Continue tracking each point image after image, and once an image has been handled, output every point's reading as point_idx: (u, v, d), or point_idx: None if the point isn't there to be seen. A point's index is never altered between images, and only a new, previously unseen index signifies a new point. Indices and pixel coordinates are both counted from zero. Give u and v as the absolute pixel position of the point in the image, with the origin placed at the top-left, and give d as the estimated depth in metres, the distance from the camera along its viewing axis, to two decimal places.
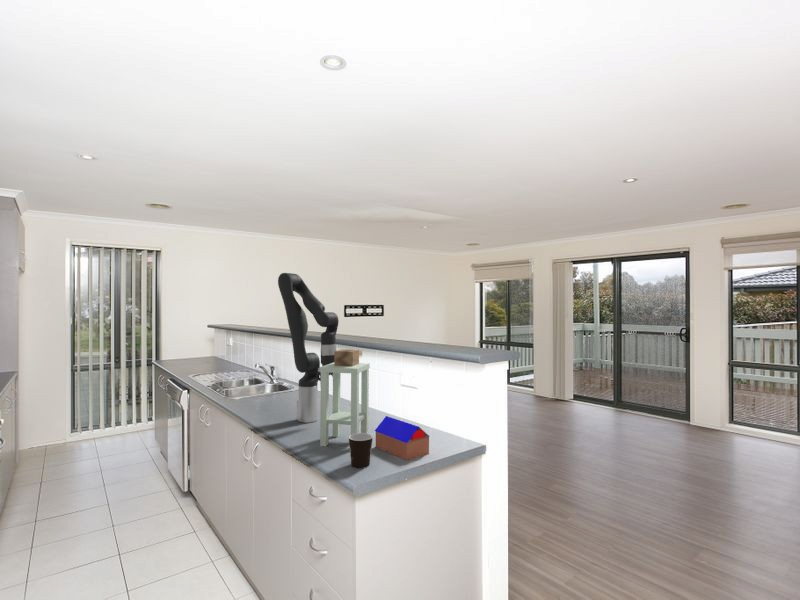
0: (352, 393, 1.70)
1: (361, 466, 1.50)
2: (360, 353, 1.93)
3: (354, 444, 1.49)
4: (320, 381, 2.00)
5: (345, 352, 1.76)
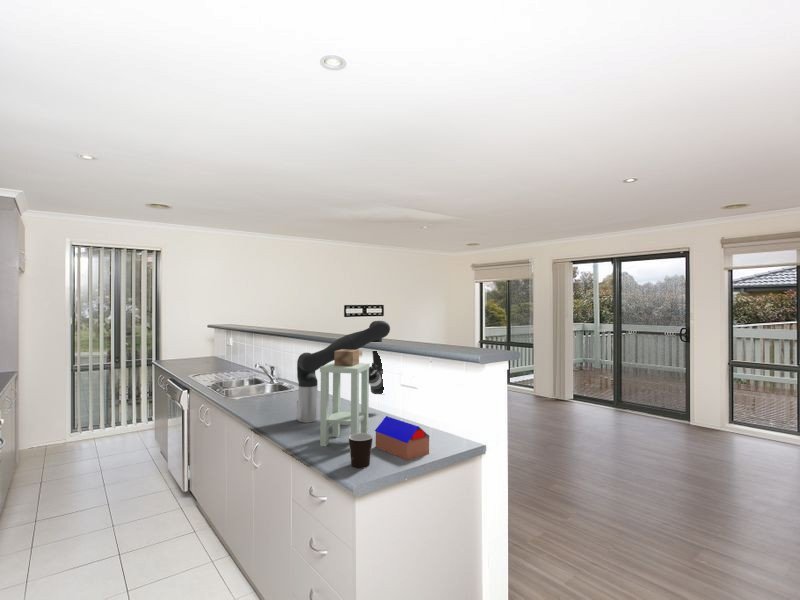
0: (352, 393, 1.70)
1: (361, 466, 1.50)
2: (360, 353, 1.93)
3: (354, 444, 1.49)
4: (376, 366, 2.05)
5: (345, 352, 1.76)
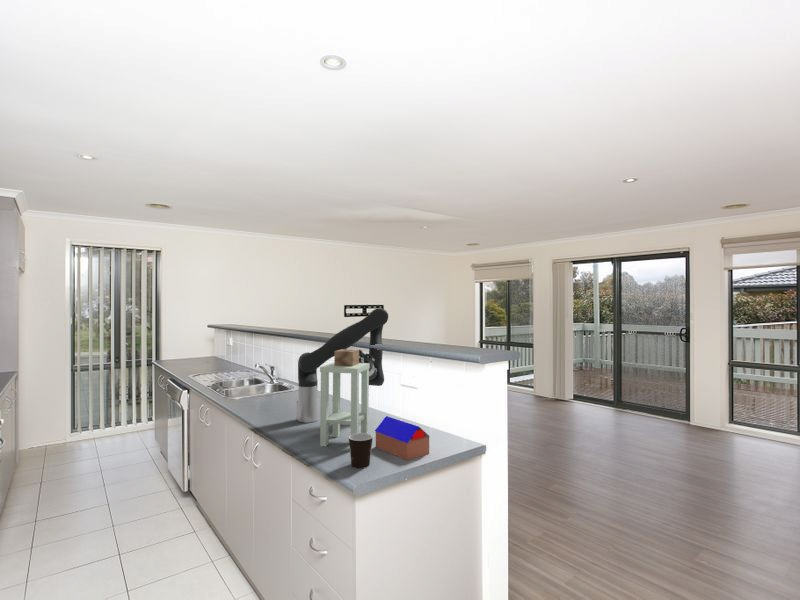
0: (352, 393, 1.70)
1: (361, 466, 1.50)
2: None
3: (354, 444, 1.49)
4: (363, 353, 1.93)
5: (345, 352, 1.76)
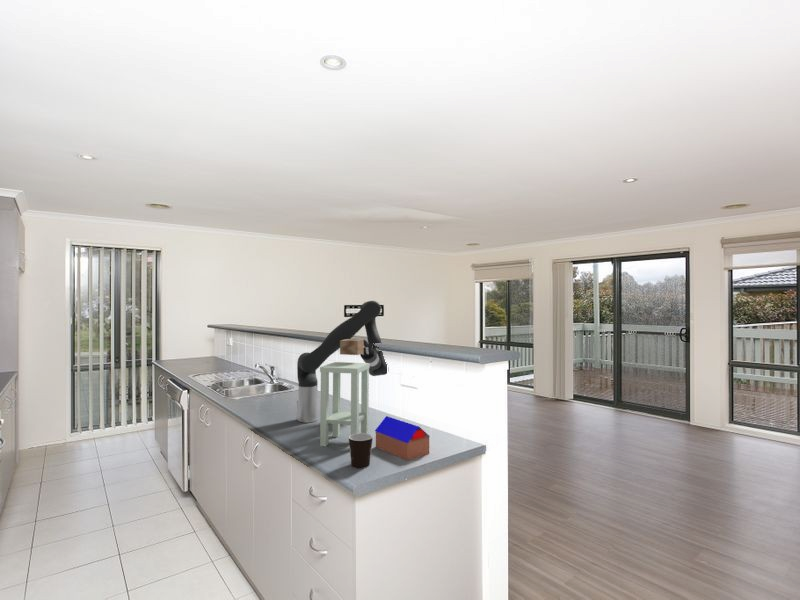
0: (352, 393, 1.70)
1: (361, 466, 1.50)
2: None
3: (354, 444, 1.49)
4: (368, 343, 2.00)
5: (350, 341, 1.83)
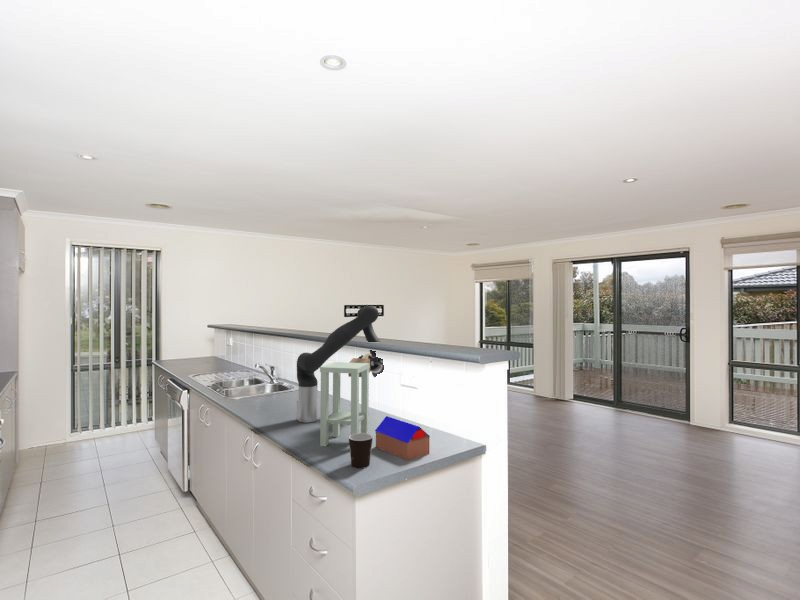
0: (352, 393, 1.70)
1: (361, 466, 1.50)
2: None
3: (354, 444, 1.49)
4: (373, 358, 2.06)
5: None
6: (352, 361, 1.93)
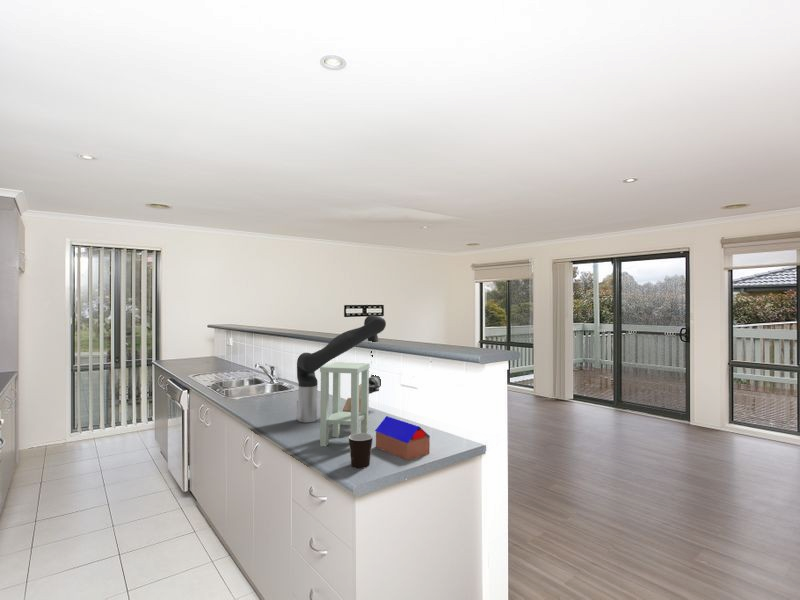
0: (352, 393, 1.70)
1: (361, 466, 1.50)
2: None
3: (354, 444, 1.49)
4: None
5: None
6: (347, 405, 1.95)
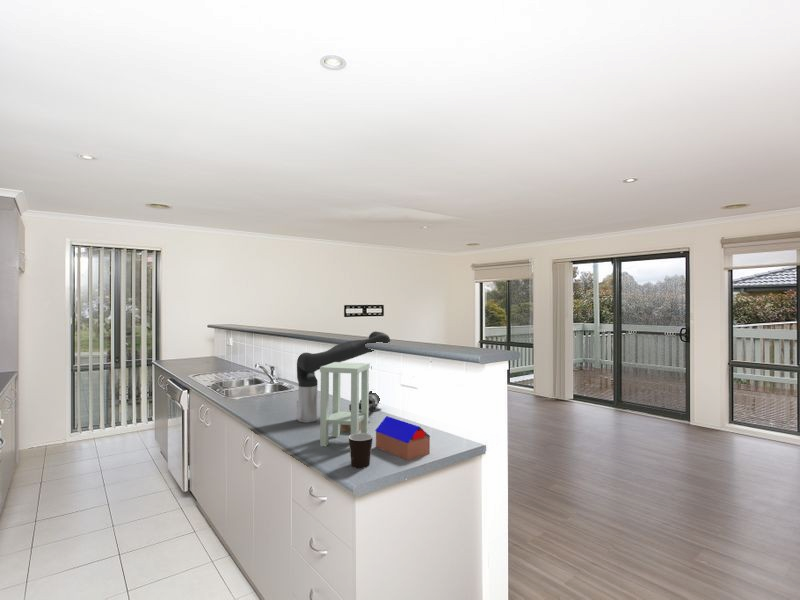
0: (352, 393, 1.70)
1: (361, 466, 1.50)
2: None
3: (354, 444, 1.49)
4: (369, 408, 2.07)
5: None
6: None
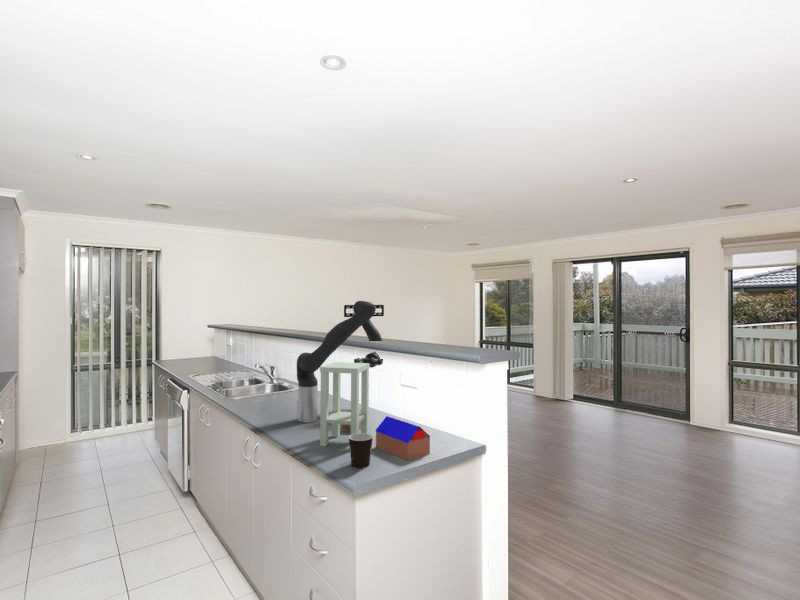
0: (352, 393, 1.70)
1: (361, 466, 1.50)
2: None
3: (354, 444, 1.49)
4: (376, 361, 2.16)
5: None
6: None
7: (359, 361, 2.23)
